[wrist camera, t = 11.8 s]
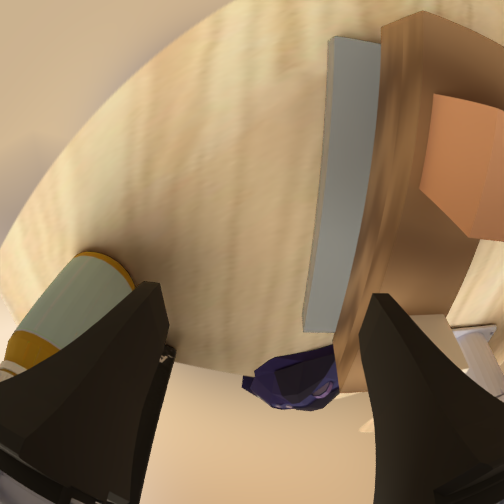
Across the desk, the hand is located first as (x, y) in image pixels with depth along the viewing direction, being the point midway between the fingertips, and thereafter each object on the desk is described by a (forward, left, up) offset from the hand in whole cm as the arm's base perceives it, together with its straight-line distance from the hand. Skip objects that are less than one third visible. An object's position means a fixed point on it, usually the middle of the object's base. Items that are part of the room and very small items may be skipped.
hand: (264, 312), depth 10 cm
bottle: (-8, +14, -11) cm, 19 cm away
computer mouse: (-19, -4, -11) cm, 22 cm away
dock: (0, -8, -10) cm, 13 cm away
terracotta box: (+6, -8, -3) cm, 10 cm away
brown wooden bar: (0, -8, -8) cm, 12 cm away
